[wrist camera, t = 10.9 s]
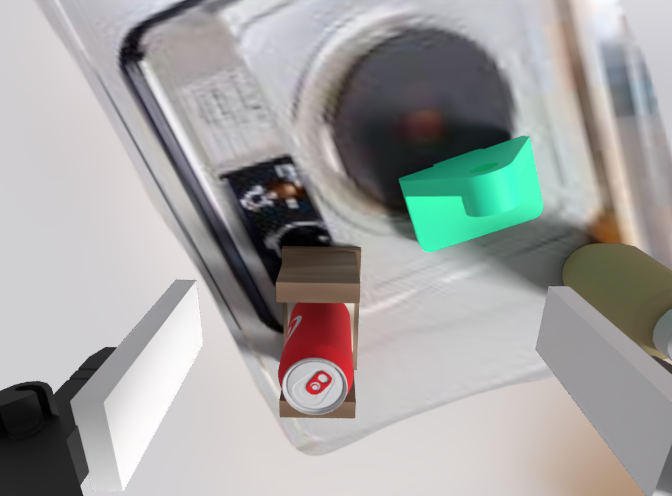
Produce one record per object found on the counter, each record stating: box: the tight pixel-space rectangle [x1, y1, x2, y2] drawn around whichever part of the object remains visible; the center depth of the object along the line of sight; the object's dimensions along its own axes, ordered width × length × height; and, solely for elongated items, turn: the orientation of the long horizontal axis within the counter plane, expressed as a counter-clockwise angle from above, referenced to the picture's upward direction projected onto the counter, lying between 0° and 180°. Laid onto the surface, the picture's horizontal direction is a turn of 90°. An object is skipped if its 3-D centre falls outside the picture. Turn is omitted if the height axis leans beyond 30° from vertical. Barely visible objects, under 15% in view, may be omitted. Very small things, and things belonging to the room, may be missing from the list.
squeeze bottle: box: [562, 243, 672, 360], centre depth 36 cm, size 8×8×18 cm
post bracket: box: [276, 246, 361, 418], centre depth 42 cm, size 14×8×9 cm, turn 179°
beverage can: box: [278, 302, 353, 415], centre depth 39 cm, size 6×6×12 cm
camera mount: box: [399, 136, 543, 252], centre depth 37 cm, size 12×8×10 cm, turn 109°
